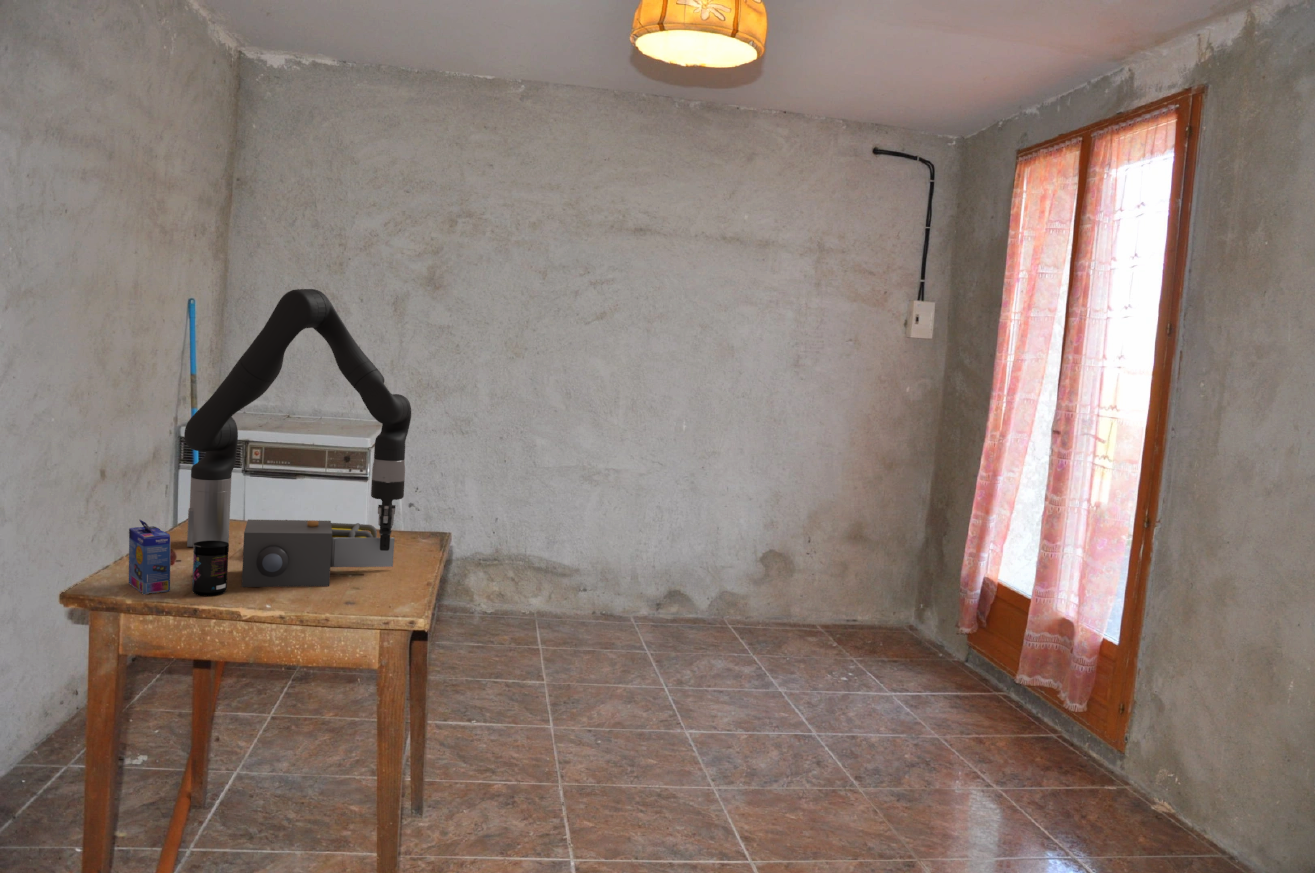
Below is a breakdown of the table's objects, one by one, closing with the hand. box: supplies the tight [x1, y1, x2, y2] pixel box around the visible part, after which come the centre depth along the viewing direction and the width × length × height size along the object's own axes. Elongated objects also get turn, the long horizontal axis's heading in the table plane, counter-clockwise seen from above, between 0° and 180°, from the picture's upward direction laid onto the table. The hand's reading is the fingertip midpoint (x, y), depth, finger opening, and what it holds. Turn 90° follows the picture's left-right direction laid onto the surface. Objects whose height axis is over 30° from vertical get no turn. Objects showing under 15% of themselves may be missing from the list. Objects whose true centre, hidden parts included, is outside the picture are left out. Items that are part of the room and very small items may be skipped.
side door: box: [330, 537, 395, 568], centre depth 226 cm, size 1×14×7 cm, turn 112°
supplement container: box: [191, 541, 230, 597], centre depth 198 cm, size 7×7×10 cm
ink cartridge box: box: [128, 519, 171, 595], centre depth 198 cm, size 10×6×14 cm, turn 46°
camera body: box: [241, 519, 332, 588], centre depth 212 cm, size 18×17×13 cm
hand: (384, 549), depth 225 cm, fingers closed
